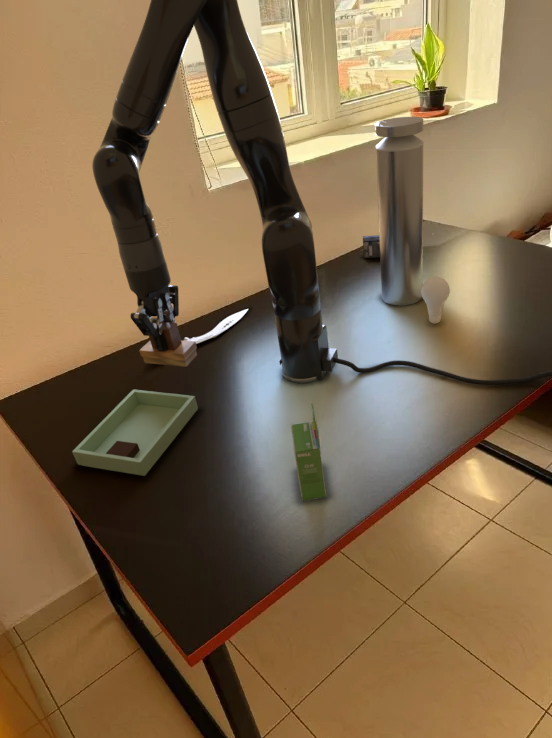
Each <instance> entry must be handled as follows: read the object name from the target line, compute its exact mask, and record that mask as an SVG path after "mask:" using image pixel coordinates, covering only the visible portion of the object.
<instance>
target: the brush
mask: <svg viewBox="0 0 552 738" xmlns="http://www.w3.org/2000/svg"><path fill="white" fill-rule="evenodd" d="M153 325H154V327H155V328H157V326H156V324H155V323H153ZM162 326H163V333H164V335H165V339H166V342H167V346H168V349H167V350H166V351H158V350H157V349H156V347H155V344H154V340H153V337H152V336H148V338H149V340H148V341H147V343H146V344H145V345H143V346H142V347H141V348H140V349H139V350H138V351H139V354H140V358H142V360H143V362H144V363H145V364H153V365H163V366H175V367H185V368H186V367H188V366H189V364H191V362H193V361H194V359H195V358H196V357H197V356H198V352H197V348H198V347H197V344H196V342H195V341H184V339H183V340H182V338H181V335H180V330H179V327H178V323H177V322H175V323H173V322H162Z"/></svg>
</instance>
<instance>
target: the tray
mask: <svg viewBox="0 0 552 738" xmlns="http://www.w3.org/2000/svg"><path fill="white" fill-rule="evenodd" d="M198 409H199V406H198V403H197V399H196V396H195V395H189V394H188V395H187V394H179V393H169V392H161V391H159V392H158V391H153V390H142V389H132V390H131V391H130V392H129V393H128V394H127V395H126V396H125V397H124V398H123V399H122V400H121V401H120V402H119V403H118V404H117V405H116V406H115V407H114V408H113V409H112V410H111V412H110V413H108V414H107V416H106V417H104V418H103V419H102V421H101V422H99V424H98V425H97V426H96V427H95V428H94V429H93V430H92V431H91V432H89V434H88V435H87V436H86V437H85V438H84V439H83V440H82V441H81V442H80V443H79V444H78V445H76V447H75V448H74V449H72V451H71V453H72V455H73V457H74V460H75V462H76V464H77V465H78V466H84V467H88V468H89V467H90V468H95V469H100V470H106V471H113V472H118V473H126V474H131V475H137V476H143V477H145V476H146V475H148V473H149V471H150V470H151V469H152V468H153V466H154V465H155V464H156V463H157V461H158V460H159V459H160V458H161V456H162V455H163V454H164V452H165V451H166V450H167V449H168V447H169V446H170V445H171V444H172V443H173V441H174V440H175V439H176V437H177V436H178V435H179V434H180V432H182V430H183V429H184V427H185V426H186V425H187V423H188V422H189V421H190V420H191V418H192V417H193V416H194V415H195V414H196V412H197V411H198ZM116 441H123V442H130V443H137V444H138V447H139V449H140V451H139V452H138V453H137V454H136V455H135V457H134V458H129V457H123V456H117V455H110V454H106V452H107V451H108V450H109V449H110V448H111V447H112V446H113V445H114V444H115V442H116Z"/></svg>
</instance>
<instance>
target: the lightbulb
mask: <svg viewBox="0 0 552 738" xmlns="http://www.w3.org/2000/svg"><path fill="white" fill-rule="evenodd" d="M450 293H451V289H450V285H449V283H448V281H447V280H446V279H445V278H443V277H440V276H431V277H429V278H427V279H426V280H425V281H423V285H422V288H421V294H422V299H423V301H424V302H425V305H426V307H427V313H428V321H429V322H430V323H431V324H434V325H437V324H439V323H440V322H441V320H442V314H443V308H444V305H445V302H447V299H448V298H449V296H450Z"/></svg>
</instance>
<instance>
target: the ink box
mask: <svg viewBox="0 0 552 738" xmlns="http://www.w3.org/2000/svg"><path fill="white" fill-rule="evenodd" d="M313 404H314V403H312V402H311V410H312V417H313V418H312V421H307V422H302V423H294V424H291V426H290V427H291V437H292V445H293V453H294V459H295V466H296V473H297V478H298V484H299V491H300V499H301V501H312V500H317V499H323V498H327V491H326V489H327V488H326V483H325V476H324V469H323V468H324V467H323V461H322V450H321V443H320V434H319V426H318V422H317V417H316V413H315V409H314V405H313Z"/></svg>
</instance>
